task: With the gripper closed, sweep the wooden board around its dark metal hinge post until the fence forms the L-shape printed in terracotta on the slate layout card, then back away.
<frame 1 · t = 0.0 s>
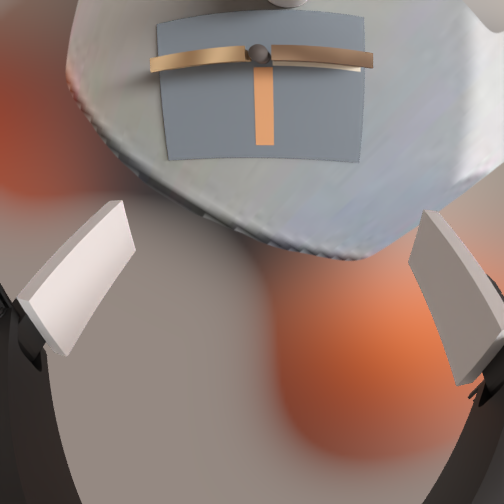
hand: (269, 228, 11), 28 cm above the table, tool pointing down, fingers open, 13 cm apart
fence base: (262, 57, 29), resting on layout card
layout card: (259, 82, 31), on the table
wooden board: (202, 59, 27), point 4 cm above the table, hinge at 0.0°
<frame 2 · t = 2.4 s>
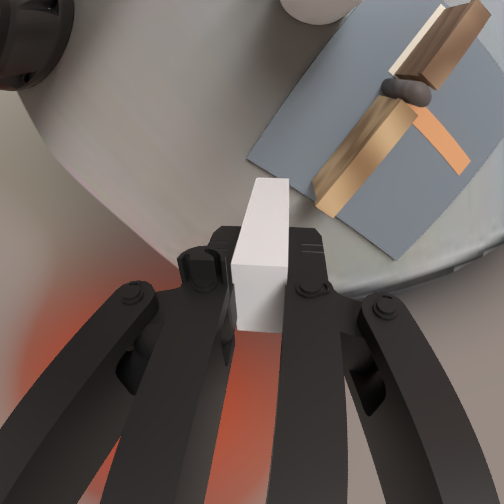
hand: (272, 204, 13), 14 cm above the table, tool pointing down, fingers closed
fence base: (390, 88, 20), resting on layout card
layout card: (411, 115, 21), on the table
wooden board: (358, 149, 21), point 4 cm above the table, hinge at 0.0°
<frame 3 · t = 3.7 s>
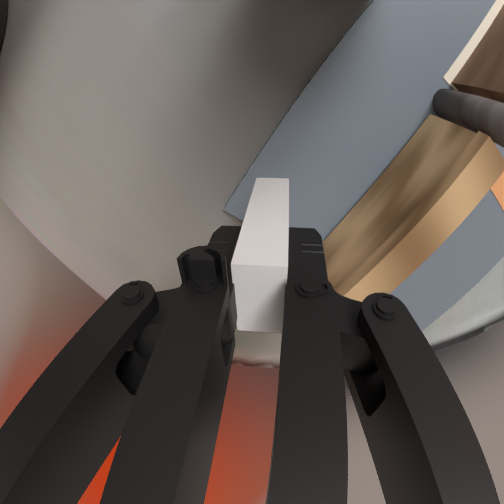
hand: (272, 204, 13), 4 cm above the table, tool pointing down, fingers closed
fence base: (445, 104, 12), resting on layout card
layout card: (468, 146, 13), on the table
wooden board: (400, 208, 13), point 4 cm above the table, hinge at 0.0°
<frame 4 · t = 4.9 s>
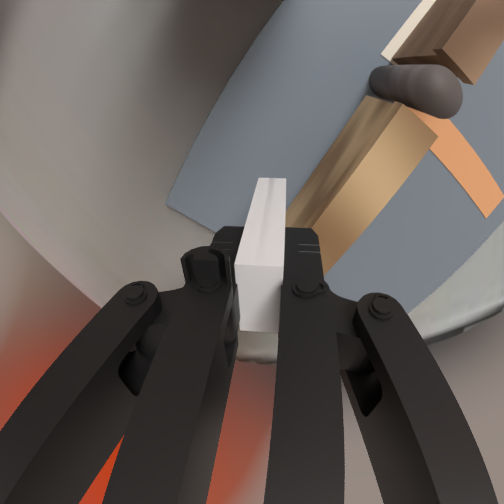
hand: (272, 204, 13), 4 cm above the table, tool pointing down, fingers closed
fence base: (386, 82, 12), resting on layout card
layout card: (421, 127, 13), on the table
wooden board: (328, 198, 13), point 4 cm above the table, hinge at 2.6°, touching gripper
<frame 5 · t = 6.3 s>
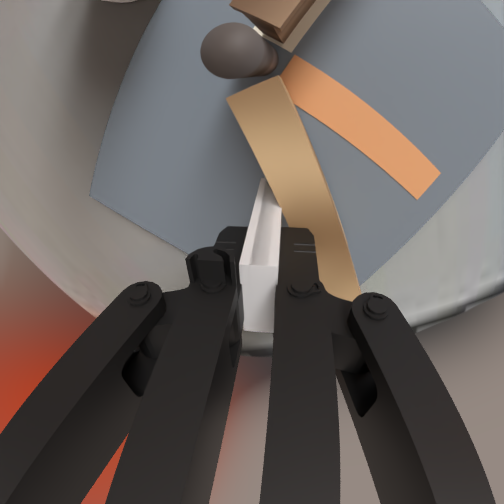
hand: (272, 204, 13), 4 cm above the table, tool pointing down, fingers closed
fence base: (259, 59, 12), resting on layout card
layout card: (311, 99, 13), on the table
wooden board: (312, 191, 13), point 4 cm above the table, hinge at 56.2°, touching gripper
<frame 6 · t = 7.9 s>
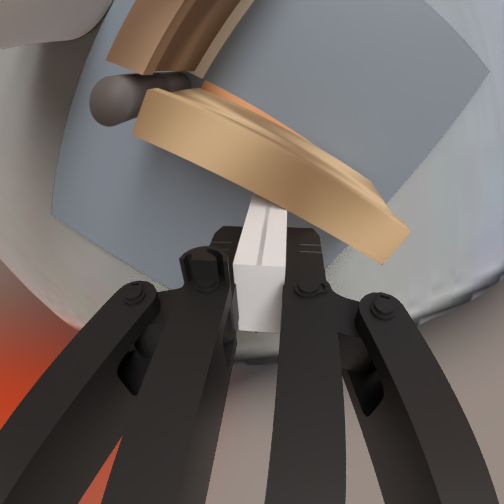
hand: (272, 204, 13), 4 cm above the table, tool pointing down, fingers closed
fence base: (174, 88, 13), resting on layout card
layout card: (225, 121, 15), on the table
wooden board: (281, 154, 12), point 4 cm above the table, hinge at 94.4°, touching gripper
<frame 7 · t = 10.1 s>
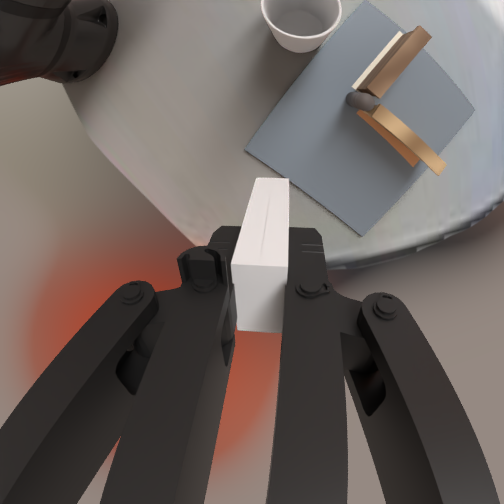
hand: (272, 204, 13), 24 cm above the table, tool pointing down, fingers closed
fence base: (353, 99, 29), resting on layout card
layout card: (370, 119, 31), on the table
mug: (291, 21, 25), on the table
wooden board: (403, 136, 28), point 4 cm above the table, hinge at 94.5°
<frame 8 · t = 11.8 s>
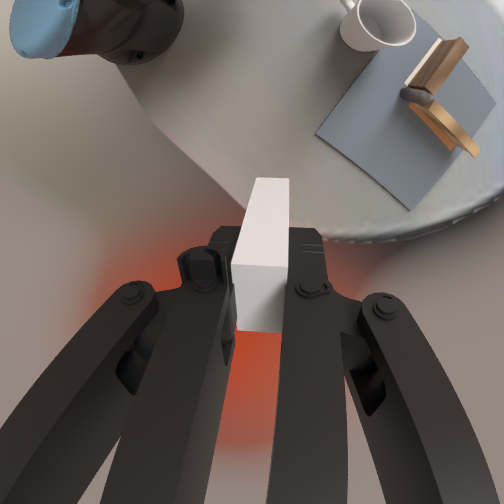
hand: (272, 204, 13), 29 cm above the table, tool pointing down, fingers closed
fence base: (405, 93, 31), resting on layout card
layout card: (418, 111, 33), on the table
mug: (354, 24, 27), on the table
wooden board: (446, 125, 30), point 4 cm above the table, hinge at 94.5°
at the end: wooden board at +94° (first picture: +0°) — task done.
